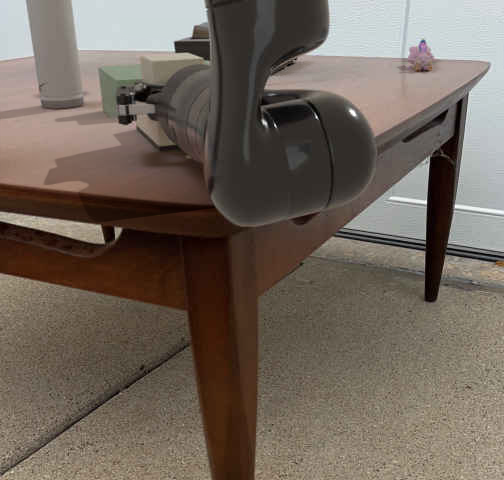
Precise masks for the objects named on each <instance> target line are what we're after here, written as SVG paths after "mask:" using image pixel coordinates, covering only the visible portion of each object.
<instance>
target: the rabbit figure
mask: <svg viewBox="0 0 504 480" xmlns="http://www.w3.org/2000/svg"><path fill="white" fill-rule="evenodd" d="M408 50H409V53H410V54H409V55H408V56H407V59H405V62H406V63H410V64H411V65H412V66H413V69H414V71H415V72H416V73H417V72H419V71H425V70H429V71H432V70H433V62H435V63H439V62H440V59H438V58H435V57H434V55H433V54H432V52H431V51H432V49H431V47H430V46H428V45H427V41H426V39H425V38H422V39H421V40H420V42H419V44H418V45H417V46H415V45H412V46H410V47H409V49H408ZM417 70H418V71H417Z"/></svg>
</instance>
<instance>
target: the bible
mask: <svg viewBox="0 0 504 480" xmlns="http://www.w3.org/2000/svg"><path fill="white" fill-rule="evenodd" d="M173 45H174V53H190V54H193V55H196V56H198V57H201V58H203V59H204V61H205V60H208V61H210V37H209V27H208V21H204V22H201V23H200V24H194V26H193V30H192V35H191V36H187V37H184V38H181V39H178V40H174V41H173ZM298 59H299V57H298V58H295V59H293V60H296V61H298ZM293 60H290V61H288V62H286V63H284V64H282V65H281V66H279V67H277V68H276V69H275V70H274V71H273V72H272V73H271V74H270V76H272V75H273V74H275V73H277V72H279V71H281V70H283V69H282V68H284V67H285V66H286V67H287V66H289V65H288V64H291V63H293V62H294V61H293ZM293 64H294V63H293ZM291 65H292V64H291ZM286 67H285V68H286ZM285 68H284V69H285ZM280 69H281V70H280ZM278 70H279V71H278ZM276 71H277V72H276Z"/></svg>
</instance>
